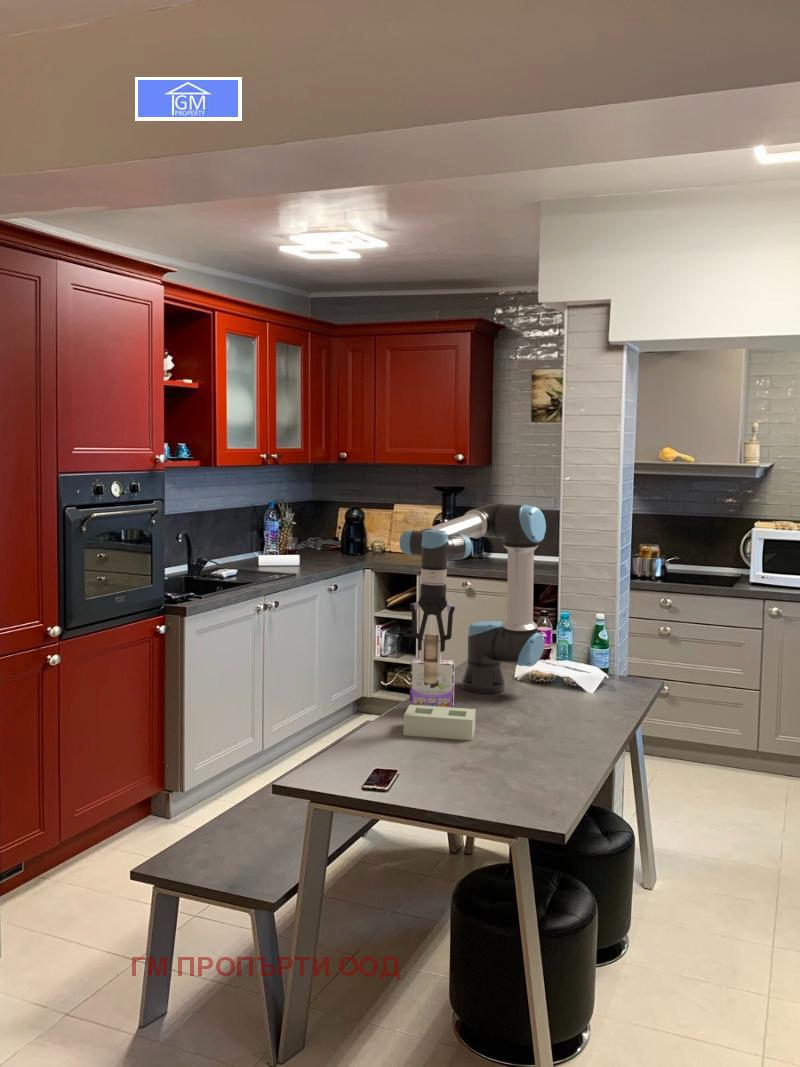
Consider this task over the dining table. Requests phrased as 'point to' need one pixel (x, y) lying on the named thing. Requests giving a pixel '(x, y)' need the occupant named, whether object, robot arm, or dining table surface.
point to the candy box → (432, 685)
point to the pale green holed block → (439, 722)
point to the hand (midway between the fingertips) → (430, 661)
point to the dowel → (431, 658)
